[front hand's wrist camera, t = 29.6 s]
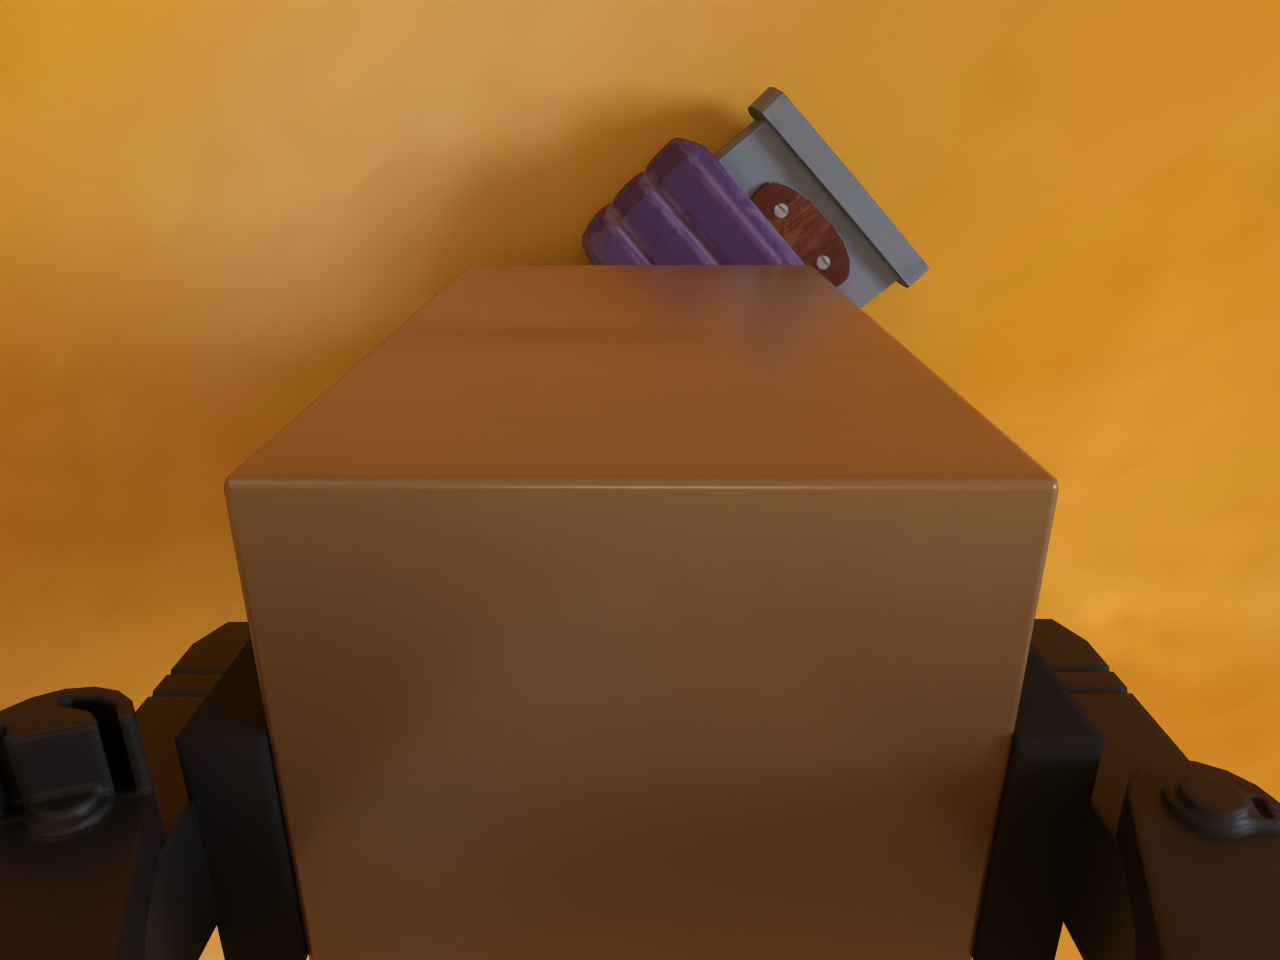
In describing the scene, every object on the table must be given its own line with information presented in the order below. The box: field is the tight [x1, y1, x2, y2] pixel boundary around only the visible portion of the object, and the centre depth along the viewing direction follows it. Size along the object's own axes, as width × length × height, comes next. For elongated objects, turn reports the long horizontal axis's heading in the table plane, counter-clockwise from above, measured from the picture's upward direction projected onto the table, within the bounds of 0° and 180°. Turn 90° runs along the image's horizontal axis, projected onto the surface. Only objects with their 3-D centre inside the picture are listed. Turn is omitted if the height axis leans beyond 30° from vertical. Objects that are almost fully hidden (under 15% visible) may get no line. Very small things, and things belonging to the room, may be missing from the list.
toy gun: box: [583, 87, 930, 308], centre depth 26 cm, size 4×19×15 cm
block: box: [224, 265, 1058, 960], centre depth 14 cm, size 8×7×11 cm
